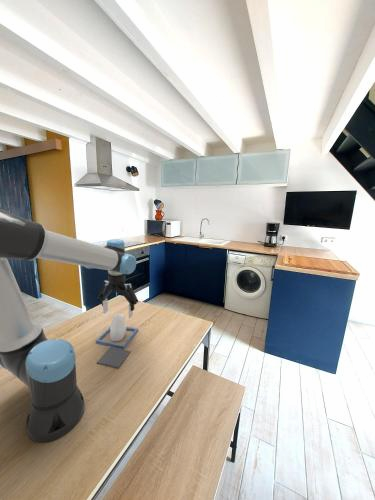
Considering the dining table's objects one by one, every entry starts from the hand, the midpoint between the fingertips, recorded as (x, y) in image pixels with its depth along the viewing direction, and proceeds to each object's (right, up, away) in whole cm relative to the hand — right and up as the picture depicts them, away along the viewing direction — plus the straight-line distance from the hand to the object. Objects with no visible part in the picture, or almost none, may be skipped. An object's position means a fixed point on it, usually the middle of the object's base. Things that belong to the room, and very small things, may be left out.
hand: (118, 314), depth 101 cm
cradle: (-1, -12, +2) cm, 12 cm away
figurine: (-1, -12, +2) cm, 13 cm away
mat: (+2, -15, -11) cm, 19 cm away
